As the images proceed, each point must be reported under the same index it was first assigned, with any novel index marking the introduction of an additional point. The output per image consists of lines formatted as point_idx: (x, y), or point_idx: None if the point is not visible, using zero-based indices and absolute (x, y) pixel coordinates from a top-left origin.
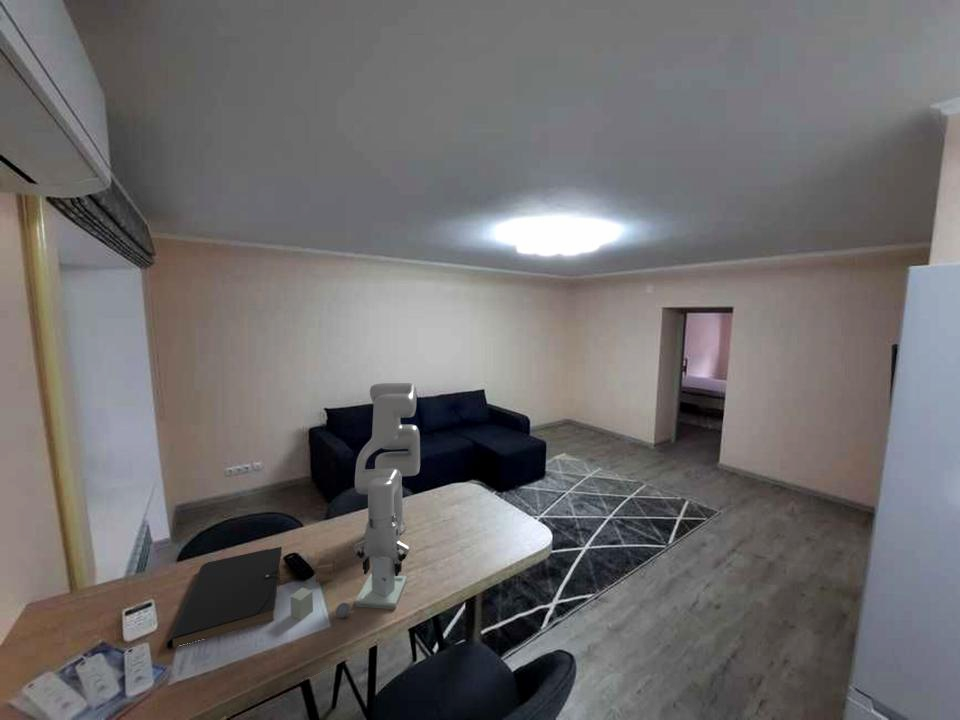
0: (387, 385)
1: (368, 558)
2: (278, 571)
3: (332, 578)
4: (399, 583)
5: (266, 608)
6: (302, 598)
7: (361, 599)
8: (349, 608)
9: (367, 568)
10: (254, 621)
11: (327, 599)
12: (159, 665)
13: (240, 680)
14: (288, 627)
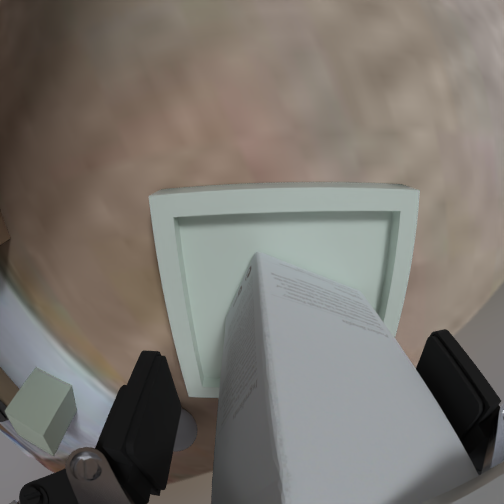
0: None
1: (140, 465)
2: None
3: (4, 241)
4: (378, 238)
5: (3, 409)
6: (49, 451)
7: (212, 391)
8: (192, 426)
9: (169, 416)
10: None
11: (67, 343)
12: (6, 433)
13: None
14: (71, 421)
